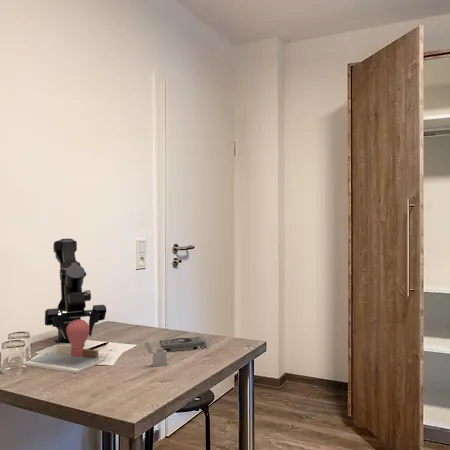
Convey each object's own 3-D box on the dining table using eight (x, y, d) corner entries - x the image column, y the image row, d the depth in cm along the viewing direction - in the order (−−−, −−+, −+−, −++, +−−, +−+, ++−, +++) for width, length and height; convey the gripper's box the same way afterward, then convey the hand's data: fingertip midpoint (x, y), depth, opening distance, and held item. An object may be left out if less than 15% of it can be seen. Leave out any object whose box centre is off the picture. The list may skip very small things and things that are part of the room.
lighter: (165, 363, 144) (165, 338, 144) (166, 365, 143) (166, 339, 143) (143, 365, 143) (143, 340, 142) (143, 367, 141) (143, 341, 141)
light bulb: (94, 355, 145) (94, 318, 145) (77, 362, 139) (76, 323, 138) (78, 352, 148) (78, 316, 148) (61, 358, 142) (60, 320, 142)
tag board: (24, 365, 143) (24, 354, 143) (54, 353, 155) (54, 344, 155) (76, 373, 135) (76, 362, 135) (104, 360, 147) (104, 351, 147)
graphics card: (202, 332, 172) (209, 339, 161) (202, 342, 172) (209, 350, 160) (157, 336, 167) (162, 344, 156) (158, 346, 167) (162, 354, 156)
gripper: (44, 283, 143) (47, 326, 133) (105, 280, 151) (111, 320, 141) (43, 304, 150) (46, 346, 140) (101, 299, 158) (107, 339, 148)
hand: (78, 337), depth 142 cm, fingers closed on light bulb, 7 cm apart
